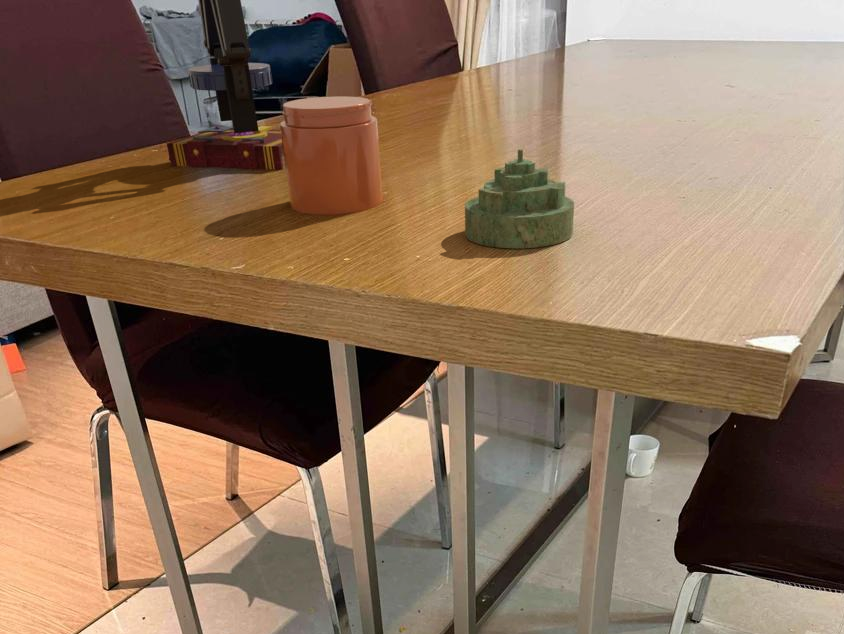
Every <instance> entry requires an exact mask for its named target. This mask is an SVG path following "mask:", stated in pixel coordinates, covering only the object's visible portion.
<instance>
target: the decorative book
mask: <svg viewBox="0 0 844 634" xmlns="http://www.w3.org/2000/svg"><path fill="white" fill-rule="evenodd" d="M258 130H259V131H254V132H243V133H234V129H233V126H219V125H215V126H214V125H213V126H210V127H208V128H205V129H202V130H201V129H200V130H199V131H197V133H194V134H192V135H188V136H186V137H185V136H184V137H182V138H178V139H176V140H173V141H170V142H166V147H167V152H168V156H169V157H168V161H170V162H169V163H170V166H171V167H187V168H188V167H189V168H190V167H191V168H199V169H200V168H202V169H203V168H204V169H205V168H206V169H207V168H215V169H217V168H219V169H240V170H271V171H272V170H273V171H274V170H276V171H279V170H280V171H282V170H284V168H286V167H285V159H284V152H283V145H282V137H281V130H280V129H273V126H272V125H271V126H270V125H269V126H268V125H267V126H266V125H259V126H258Z"/></svg>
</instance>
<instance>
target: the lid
mask: <svg viewBox="0 0 844 634" xmlns="http://www.w3.org/2000/svg"><path fill="white" fill-rule="evenodd" d="M248 65H249V71H250V78H251V84H252V89H258V88H264V87H268V86H270V85H272V84H273V82H274V81H273V76H272V69H271V65H270V64H269V63H263V62H248ZM187 70H188V80H189V85H190V88H191V89H192V90H197V91H206V92H207V91H208V92H209V91H211V92H214V91H223V90H227V88H226V82H225V76H224V70H223V66H219V65H218V64H213V65H211V64H205V65H199V66H193V67H190V68H188V69H187Z"/></svg>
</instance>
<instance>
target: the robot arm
mask: <svg viewBox="0 0 844 634" xmlns="http://www.w3.org/2000/svg"><path fill="white" fill-rule="evenodd" d="M197 2H198V7H199V13H200V21H201V27H202V34H203V46H204V48H205V49H206V51H207V54H208V56H209V63H210V64H209V65H213V64H218V65H219V66H223V70H224V76H225V82H226V88H227V90H223V91H215V97H216V102H217V108H218V114H219V119H220V122H230V121H231V123H232V127H233V129H234V133H243V132H254V131H259V130H258V127H259V125H258V118H257V111H256V104H255V98H254V92H253V91H254V90H253V88H252V84H251V78H250V71H249V65H248V63H249V60H250V59H251V57H252V50H251V48H250V44H249V39H248V33H247V27H246V23H245V17H244V11H243V6H242V0H198V1H197Z"/></svg>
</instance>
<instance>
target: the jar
mask: <svg viewBox="0 0 844 634" xmlns="http://www.w3.org/2000/svg"><path fill="white" fill-rule="evenodd" d="M372 105H373V101H372V100H371V99H369V98H366V97H361V96H347V95H346V96H345V95H343V96H337V95H335V96H319V97H317V96H316V97H307V98H299V99H294V100H289V101H286V102H284V103H283V104H282V110H283V111H282V116H283V117H284V120H282V121H281V122H280V123H279V128H280V129H279V130H281V137H282V145H283V152H284V159H285V167H284V168H285V173H286V180H287V181H286V182H287V187H288V196H289V203H290V208H291V209H292V210H294V211H295V212H298V213H304V214H309V215H344V214H353V213H358V212H364V211H368V210H371V209H374V208H377V207H379V206H380V205H382V204H383V202H384V195H383V182H382V169H381V168H382V167H381V154H380V139H379V138H380V137H379V129H378V128H379V127H378V126H379V125H378V118H377V117H376V116H373V115H372Z"/></svg>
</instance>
